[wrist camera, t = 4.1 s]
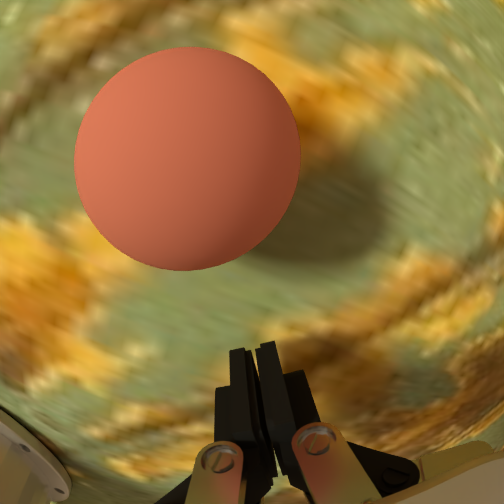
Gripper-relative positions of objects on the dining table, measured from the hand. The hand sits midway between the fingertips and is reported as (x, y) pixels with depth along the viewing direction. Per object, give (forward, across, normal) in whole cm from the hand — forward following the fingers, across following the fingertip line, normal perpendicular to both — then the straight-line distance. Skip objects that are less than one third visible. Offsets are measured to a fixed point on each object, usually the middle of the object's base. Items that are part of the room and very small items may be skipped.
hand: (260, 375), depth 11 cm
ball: (-1, 0, -8) cm, 8 cm away
